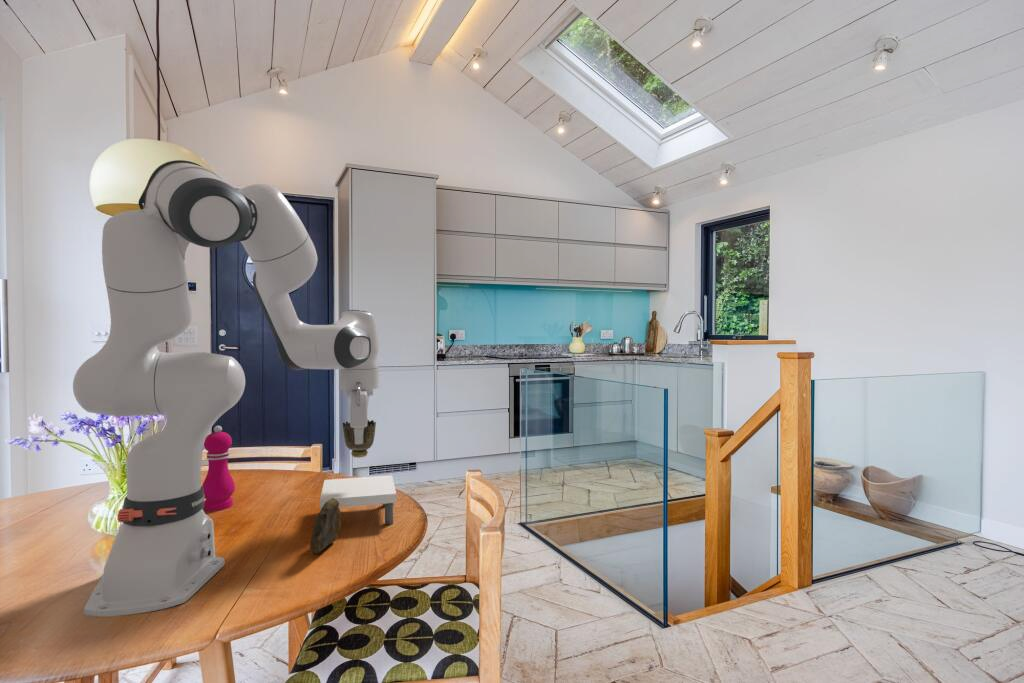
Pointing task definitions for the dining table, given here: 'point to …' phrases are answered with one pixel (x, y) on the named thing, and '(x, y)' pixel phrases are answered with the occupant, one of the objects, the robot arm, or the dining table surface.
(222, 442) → the pepper mill
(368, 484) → the footstool
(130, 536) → the robot arm
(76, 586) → the dining table surface
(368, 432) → the cup
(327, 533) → the decorative stone
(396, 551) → the dining table surface
